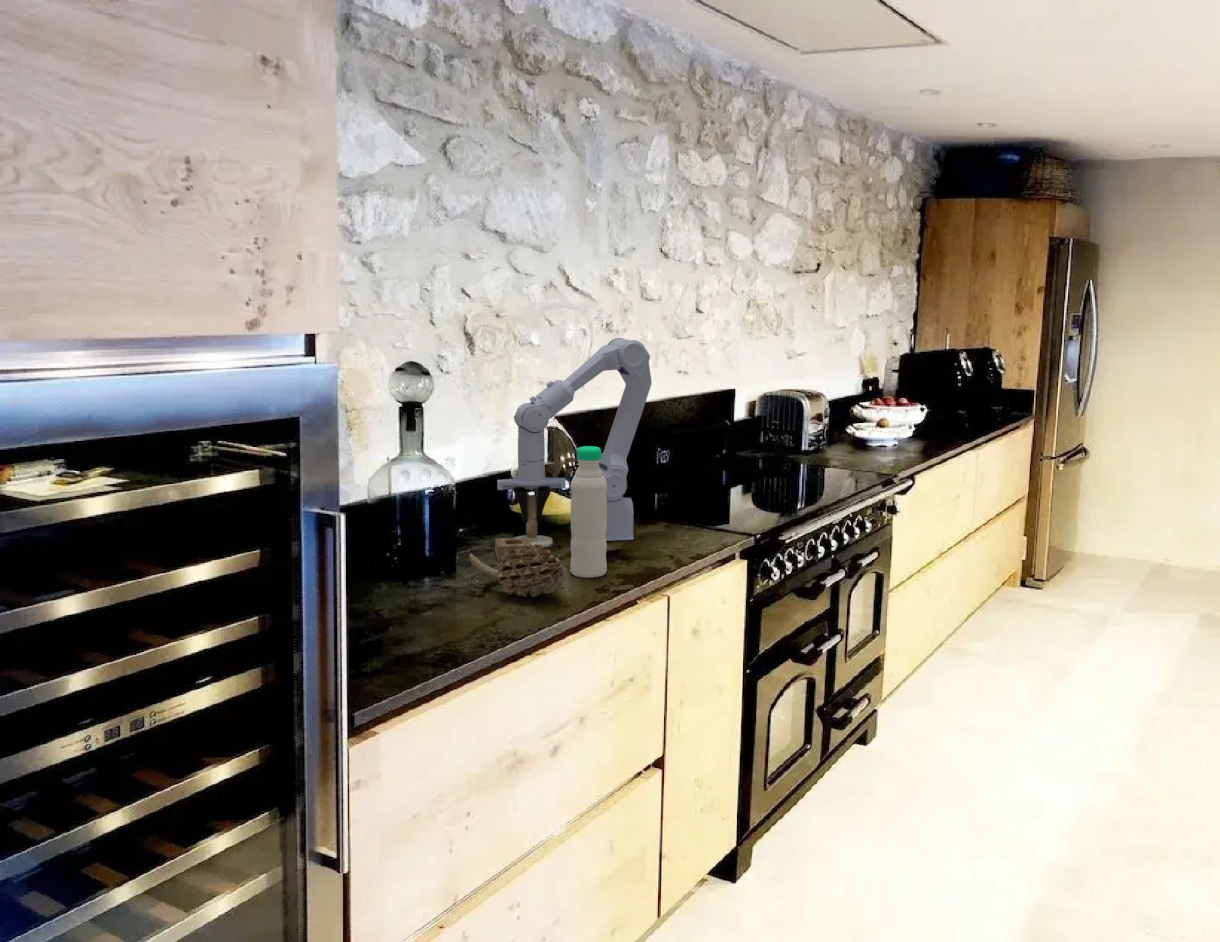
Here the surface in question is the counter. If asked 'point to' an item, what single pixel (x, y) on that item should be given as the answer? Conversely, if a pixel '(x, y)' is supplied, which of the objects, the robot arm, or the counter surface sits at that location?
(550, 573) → the pine cone
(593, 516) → the water bottle
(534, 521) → the pin
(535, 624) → the counter surface
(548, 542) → the coaster
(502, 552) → the holder
